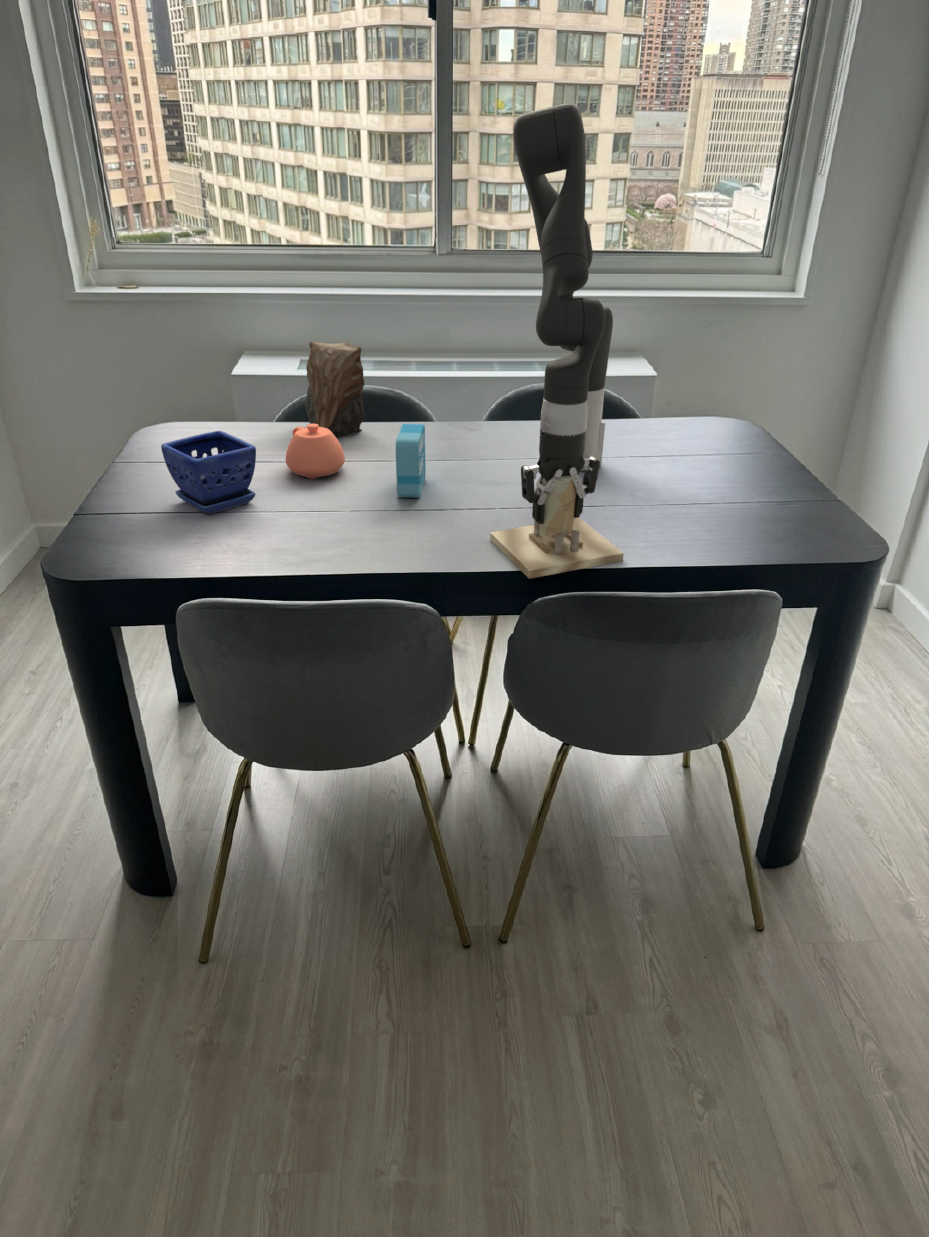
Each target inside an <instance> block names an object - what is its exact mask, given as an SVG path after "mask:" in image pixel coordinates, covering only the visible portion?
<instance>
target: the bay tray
mask: <svg viewBox="0 0 929 1237" xmlns="http://www.w3.org/2000/svg"><path fill="white" fill-rule="evenodd" d="M533 520H534V519H533ZM533 522H534V524H533V525H532V524H531V525H525V526H519V527H514V528H509V529H501V530H496V531H490V532H489V540H490V542H491V543H492V544H494V545H495V547H496V548H497V549H498V550H500V552H501V553H503V554H504V556H506V558H507V559H508V560H509V561H511V562H512V564H514V566H515V567H516V568H518V569H519V571H520V572H522V573H523V575H525V577H527V579H530V580H531V579H535V578H541V577H545V576H551V575H556V574H557V575H558V574H561V573H562V574H563V573H567V572H572V571H577V570H582V569H587V568H593V567H597V566H603V565H608V564H615V563H619V562H623V560H624V556H625V555H624V554H625V553H624V552H623V551H622V550H621V549H620V548H618V547H617V546H615V545H614V544H613V543H612V542H610V541H609V540H608V539H607V538H605V537H604V536H603V535H601V533H599V532H597V530H596V529H594V528H593V527H591V526H590V525H589V524H588V523H586V522H585V521H584V520H582V518H580V517H579V518H574V523H573V531H571V533H570V534H569V535H568V536H567V537H565V538H564V534H562V533H557V534H556V538H555V539H551V538H547V537H543V536H540V535H539V534H540V525H539V524H538V523H537V522H536V521H535V520H534V521H533Z"/></svg>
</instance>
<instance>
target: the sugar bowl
mask: <svg viewBox="0 0 929 1237" xmlns="http://www.w3.org/2000/svg"><path fill="white" fill-rule="evenodd" d="M285 452H286V453H285V464H286V466H287V468H289V470H290V471H292V472H293V473H294V474H296V475H297V476H300V477H301V476H302V477H306V478H308V479H310V480H316V479H318V478H320V477H326V476H327V477H328V476H330V475H333V474H336V473H337V472H338V471H340V469H341V468H342V467H343V465H344V463H345V460H346V459H345V458H346V457H345V453H344V449H343V447H342V445H341V443H340V441H339V440H338V438H336V437H335V436H334V434H333V433H332V432H331V431H330V430H329V429H327V428H323V427H319V425H318V424H310V423H309V424H307V425H306V427H302V426H296V427H294V428H293V429H292V438H291V440H290V441H289V443H288V446H287V448H286V451H285Z"/></svg>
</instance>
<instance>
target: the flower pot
mask: <svg viewBox="0 0 929 1237" xmlns="http://www.w3.org/2000/svg"><path fill="white" fill-rule="evenodd" d="M160 447H161V452H162V456H163V460H164V462H165V464H166V465H165V466H166V467H167V470H168V472H169V474H170V476H171V478H172V480H173V482H174V483H175V485H176V486H177V487H178V488H179V489H178V490H175V494H176V496H177V497H178V498H180V500H182V501H183V502H185V503H187V504H188V505H189V506H192V507H193V508H195V509H196V510H199V511H201V512H202V513H204V514H205V515H211V514H214V513H215V514H216V513H218V512H221V511H226V510H229V509H232V508H235V507H238V506H241V505H245V504H247V503H250V502H251V501H252V500H254V498H255V496H256V492H255V491H253V490H251V489H249V487H250V485H251V482H252V480H253V477H254V473H255V468H256V461H257V460H256V459H257V448H256V446H255V445H253V444H251V443H249V442H247V441H245V440H243V439H241V438H239V437H237V436H234V435H231V434H230V433H227V432H224V431H222V430H215V431H211V432H205V433H202V434H201V433H200V434H195V435H191V436H188V437H183V438H179V439H176V440H172V441H168V442H165V443H162V444H161V446H160ZM213 449H216V450H217V454H213V453H212V450H213ZM194 451H196V455H194V456H193V452H194ZM204 454H206V456H205V457H204Z"/></svg>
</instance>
